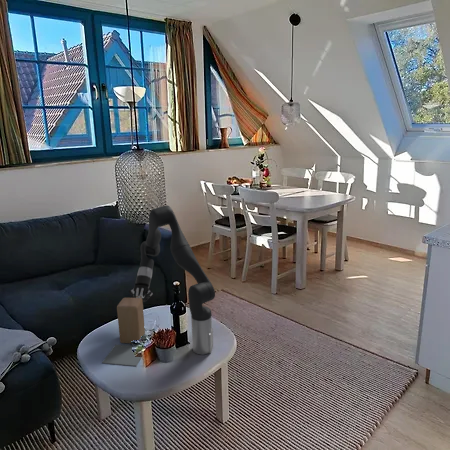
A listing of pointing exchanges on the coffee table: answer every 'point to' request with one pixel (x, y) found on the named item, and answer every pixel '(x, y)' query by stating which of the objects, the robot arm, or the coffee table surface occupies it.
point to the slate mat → (122, 356)
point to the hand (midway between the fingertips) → (137, 309)
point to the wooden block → (130, 319)
